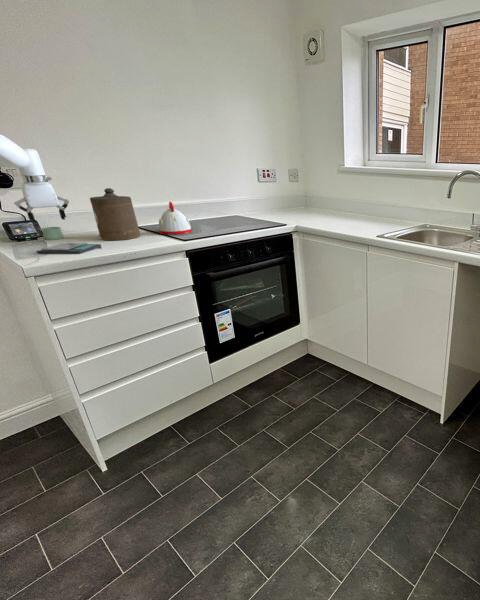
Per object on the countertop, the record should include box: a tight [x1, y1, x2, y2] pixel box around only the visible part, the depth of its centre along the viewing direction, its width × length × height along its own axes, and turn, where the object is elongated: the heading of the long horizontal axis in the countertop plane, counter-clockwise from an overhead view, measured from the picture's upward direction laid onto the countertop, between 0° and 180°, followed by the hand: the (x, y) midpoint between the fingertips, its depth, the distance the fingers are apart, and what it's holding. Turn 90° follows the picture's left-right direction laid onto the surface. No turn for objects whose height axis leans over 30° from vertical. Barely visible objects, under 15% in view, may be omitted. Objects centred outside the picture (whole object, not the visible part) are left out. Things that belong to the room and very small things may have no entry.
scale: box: [36, 242, 102, 255], centre depth 134 cm, size 14×12×3 cm
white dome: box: [158, 201, 193, 236], centre depth 176 cm, size 14×14×15 cm
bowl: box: [40, 226, 64, 241], centre depth 156 cm, size 6×6×5 cm
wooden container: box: [89, 187, 141, 241], centre depth 159 cm, size 15×15×22 cm
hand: (49, 220), depth 155 cm, fingers open, 9 cm apart
